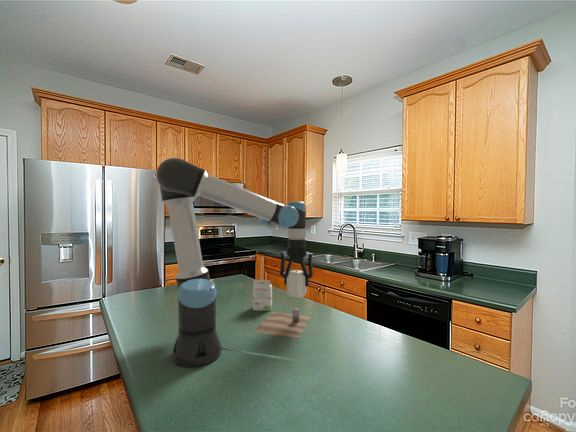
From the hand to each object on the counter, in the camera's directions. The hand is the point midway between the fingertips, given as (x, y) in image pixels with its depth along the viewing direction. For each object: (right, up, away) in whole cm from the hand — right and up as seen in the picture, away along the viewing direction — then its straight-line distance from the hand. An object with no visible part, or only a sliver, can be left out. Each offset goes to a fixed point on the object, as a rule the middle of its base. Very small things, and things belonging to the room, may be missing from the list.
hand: (296, 293), depth 118 cm
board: (-5, -12, -3) cm, 14 cm away
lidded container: (0, -1, 0) cm, 1 cm away
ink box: (-16, -12, +15) cm, 25 cm away
